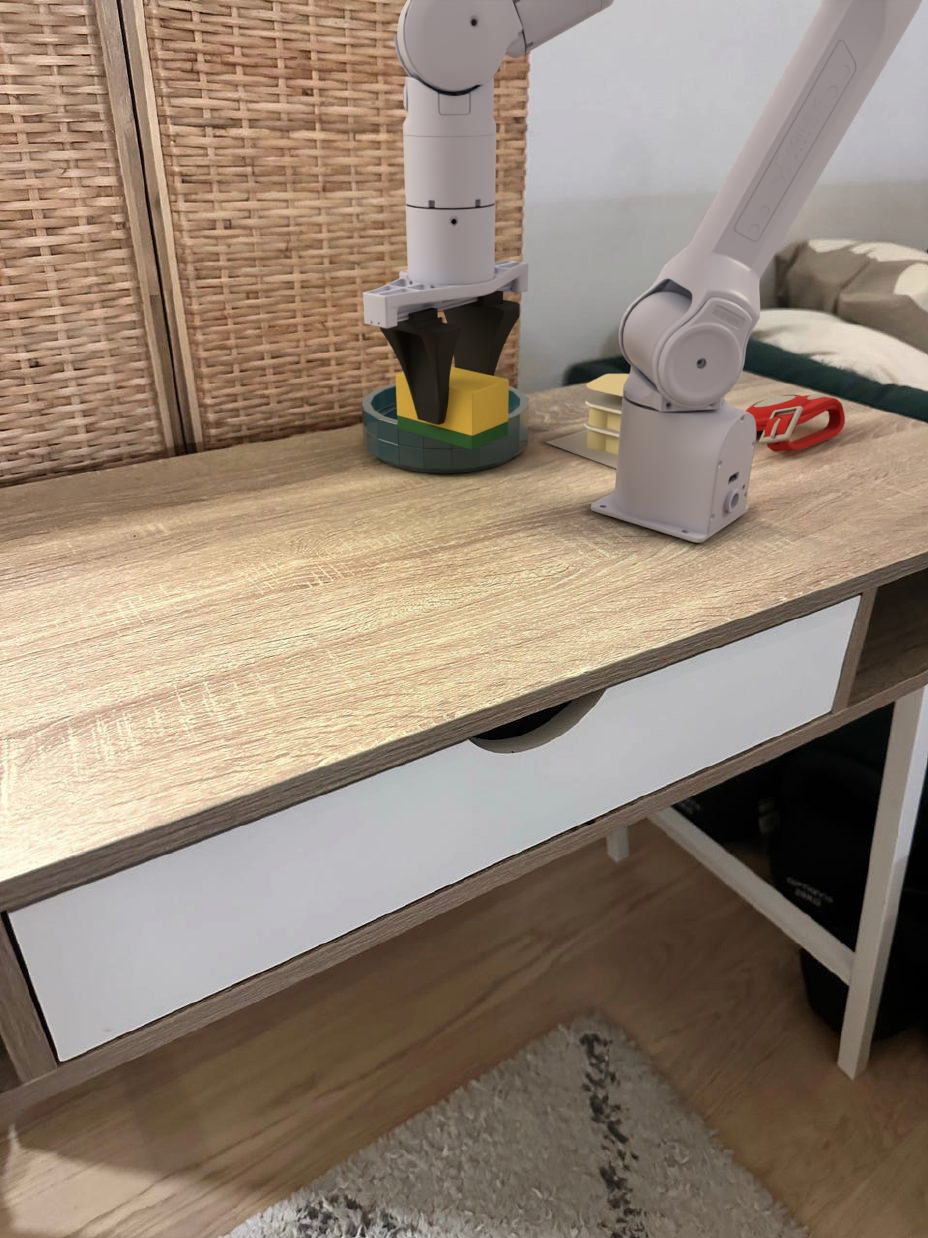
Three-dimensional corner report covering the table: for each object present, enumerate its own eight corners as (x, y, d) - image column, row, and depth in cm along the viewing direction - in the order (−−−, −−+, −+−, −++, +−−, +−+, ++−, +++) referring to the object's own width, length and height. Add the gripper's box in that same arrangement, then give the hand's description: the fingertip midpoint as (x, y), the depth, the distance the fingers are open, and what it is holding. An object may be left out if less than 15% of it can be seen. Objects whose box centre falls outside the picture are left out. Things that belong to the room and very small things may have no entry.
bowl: (559, 442, 86) (561, 397, 83) (454, 490, 76) (454, 440, 74) (439, 410, 94) (439, 368, 92) (331, 449, 84) (327, 403, 82)
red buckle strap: (713, 408, 90) (812, 378, 90) (722, 452, 92) (819, 423, 92) (765, 419, 79) (878, 385, 79) (774, 470, 80) (885, 436, 80)
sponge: (508, 435, 67) (509, 379, 65) (472, 450, 64) (472, 392, 62) (433, 415, 70) (432, 361, 68) (397, 429, 68) (395, 373, 66)
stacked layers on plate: (695, 449, 84) (703, 388, 81) (628, 473, 79) (634, 409, 76) (611, 421, 90) (616, 364, 88) (545, 442, 85) (547, 382, 83)
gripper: (473, 189, 67) (473, 379, 74) (322, 210, 57) (338, 426, 64) (555, 196, 63) (547, 396, 70) (408, 220, 53) (415, 449, 60)
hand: (452, 412), depth 67 cm, fingers closed on sponge, 4 cm apart
